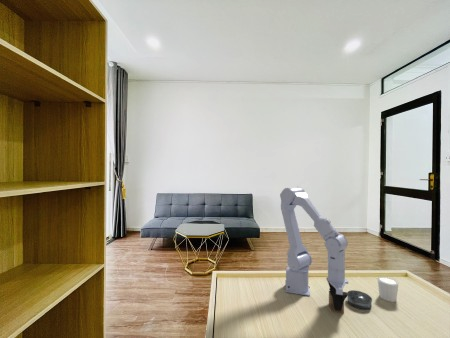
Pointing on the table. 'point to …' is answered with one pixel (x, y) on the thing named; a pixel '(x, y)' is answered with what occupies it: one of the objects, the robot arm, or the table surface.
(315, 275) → the table surface
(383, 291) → the grey and white cylinder
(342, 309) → the walnut block
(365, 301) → the tin
